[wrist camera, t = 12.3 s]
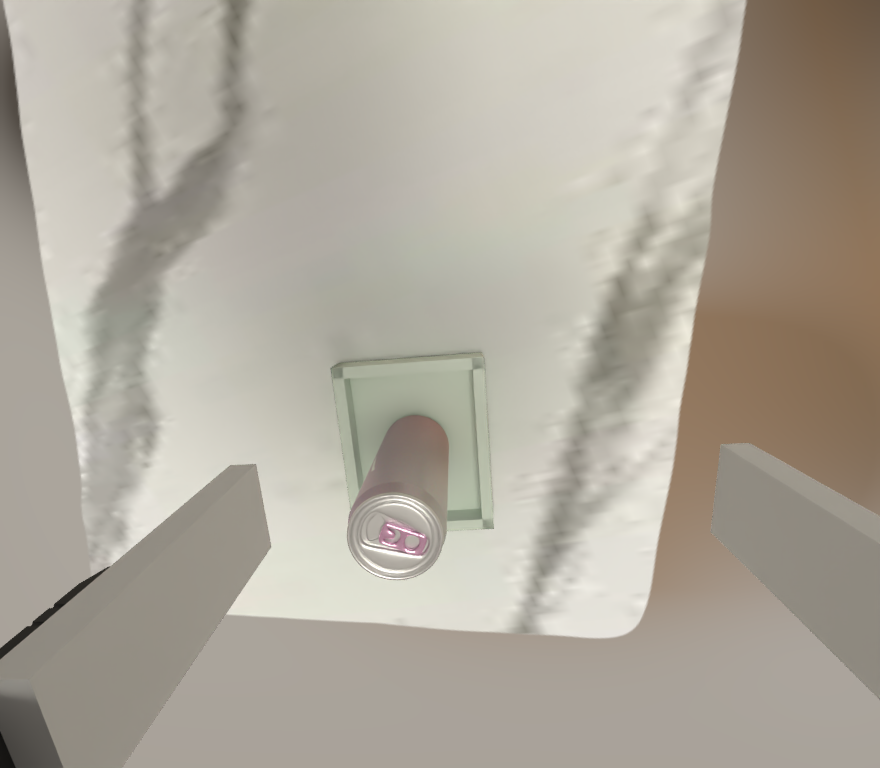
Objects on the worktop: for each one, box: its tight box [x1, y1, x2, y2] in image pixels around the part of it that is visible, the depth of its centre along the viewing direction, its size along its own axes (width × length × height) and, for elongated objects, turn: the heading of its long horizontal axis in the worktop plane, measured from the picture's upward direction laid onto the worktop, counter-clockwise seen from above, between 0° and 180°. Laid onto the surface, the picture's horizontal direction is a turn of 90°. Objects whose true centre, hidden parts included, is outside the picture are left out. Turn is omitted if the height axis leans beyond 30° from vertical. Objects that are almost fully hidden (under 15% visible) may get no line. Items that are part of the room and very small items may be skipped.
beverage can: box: [347, 415, 449, 580], centre depth 31 cm, size 6×6×15 cm
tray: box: [331, 352, 494, 531], centre depth 38 cm, size 16×13×2 cm
